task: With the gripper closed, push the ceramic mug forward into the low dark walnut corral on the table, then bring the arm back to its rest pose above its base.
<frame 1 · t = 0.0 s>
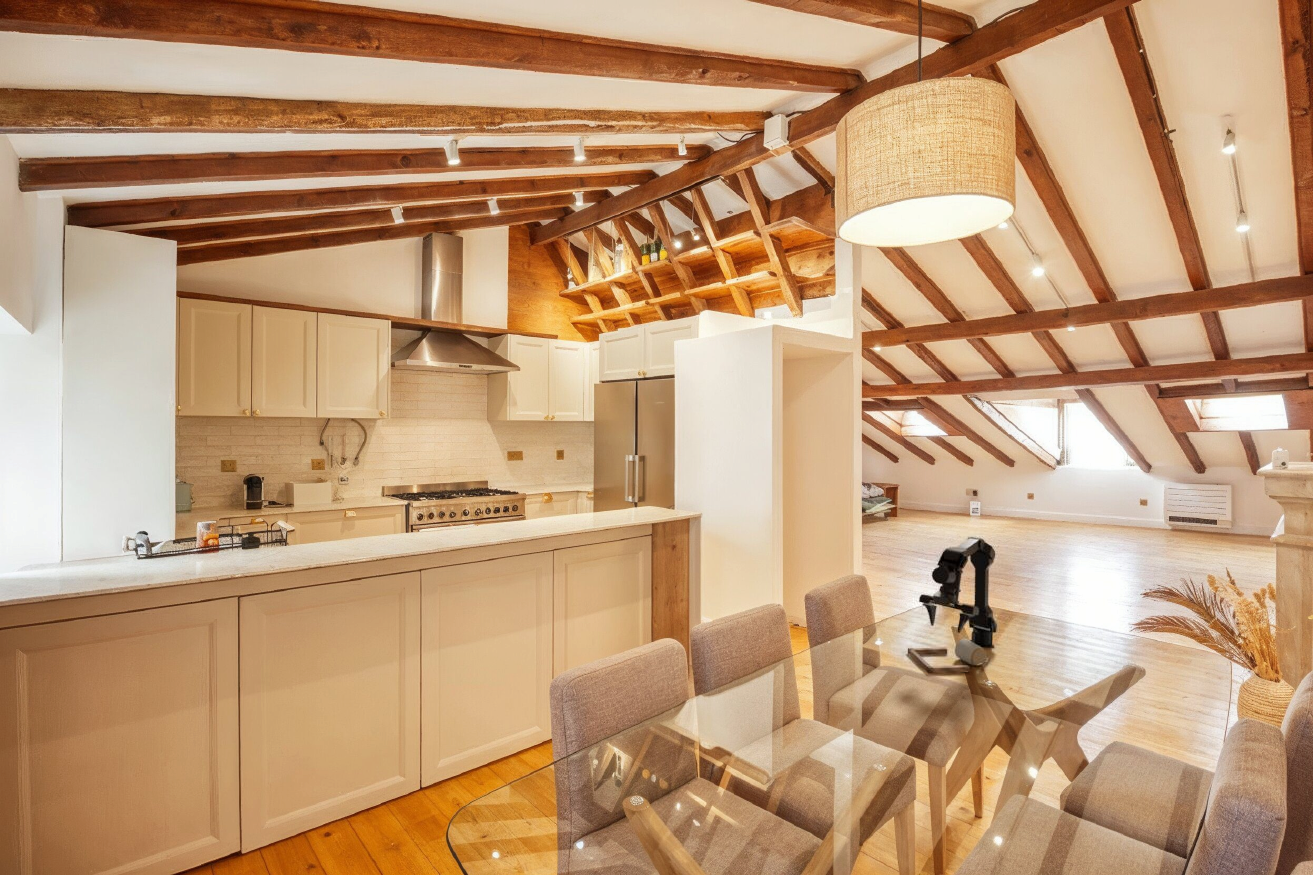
hand: (945, 629, 223), 15 cm above the table, tool pointing down, fingers open, 9 cm apart
ceramic mug: (972, 662, 232), on the table
walnut corral: (938, 662, 231), on the table
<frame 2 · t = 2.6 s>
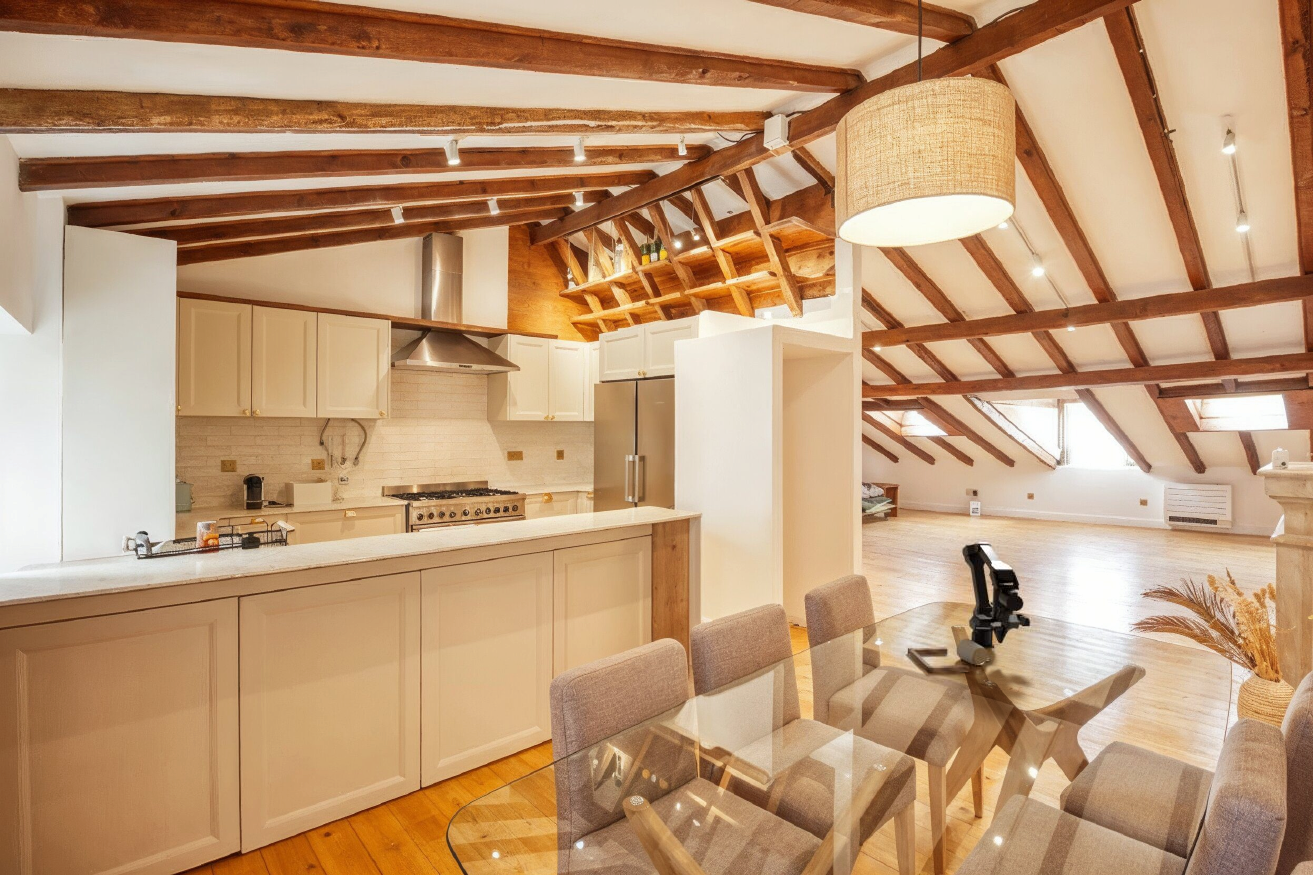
hand: (1000, 642, 232), 7 cm above the table, tool pointing down, fingers closed
nothing on the table moved.
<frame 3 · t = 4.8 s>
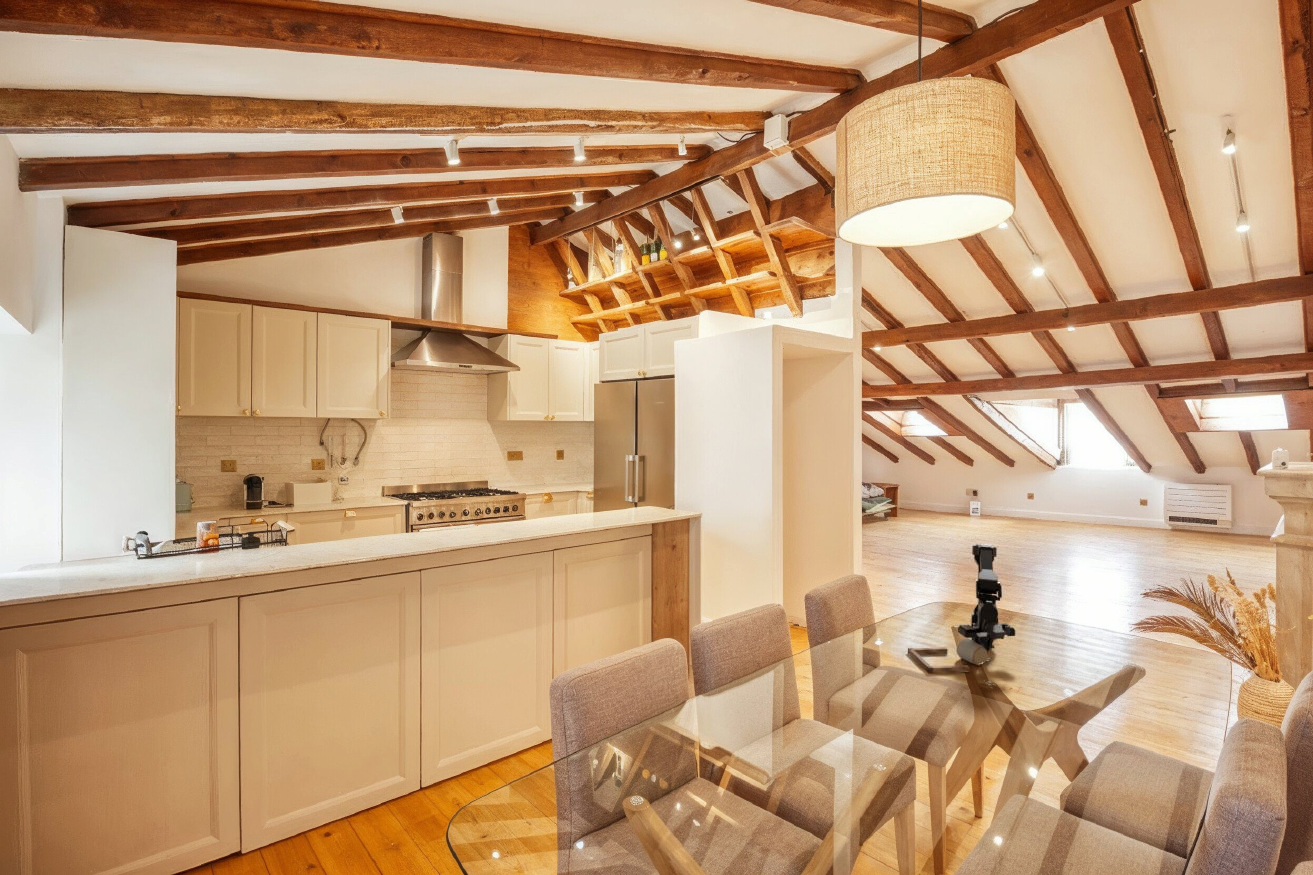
hand: (985, 653, 231), 3 cm above the table, tool pointing down, fingers closed
ceramic mug: (974, 661, 232), on the table, touching gripper
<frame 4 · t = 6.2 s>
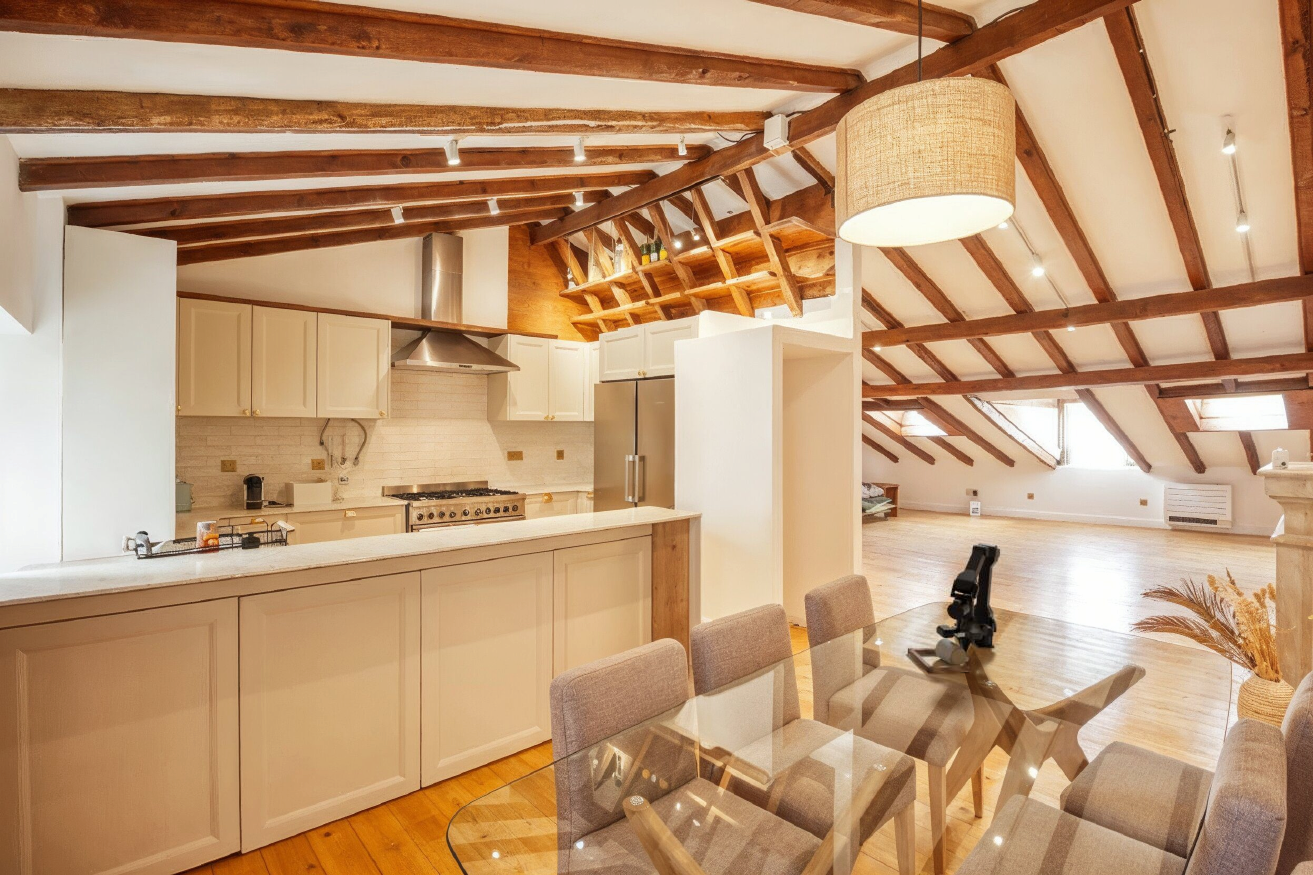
hand: (964, 653, 231), 3 cm above the table, tool pointing down, fingers closed
ceramic mug: (953, 662, 232), on the table, touching gripper
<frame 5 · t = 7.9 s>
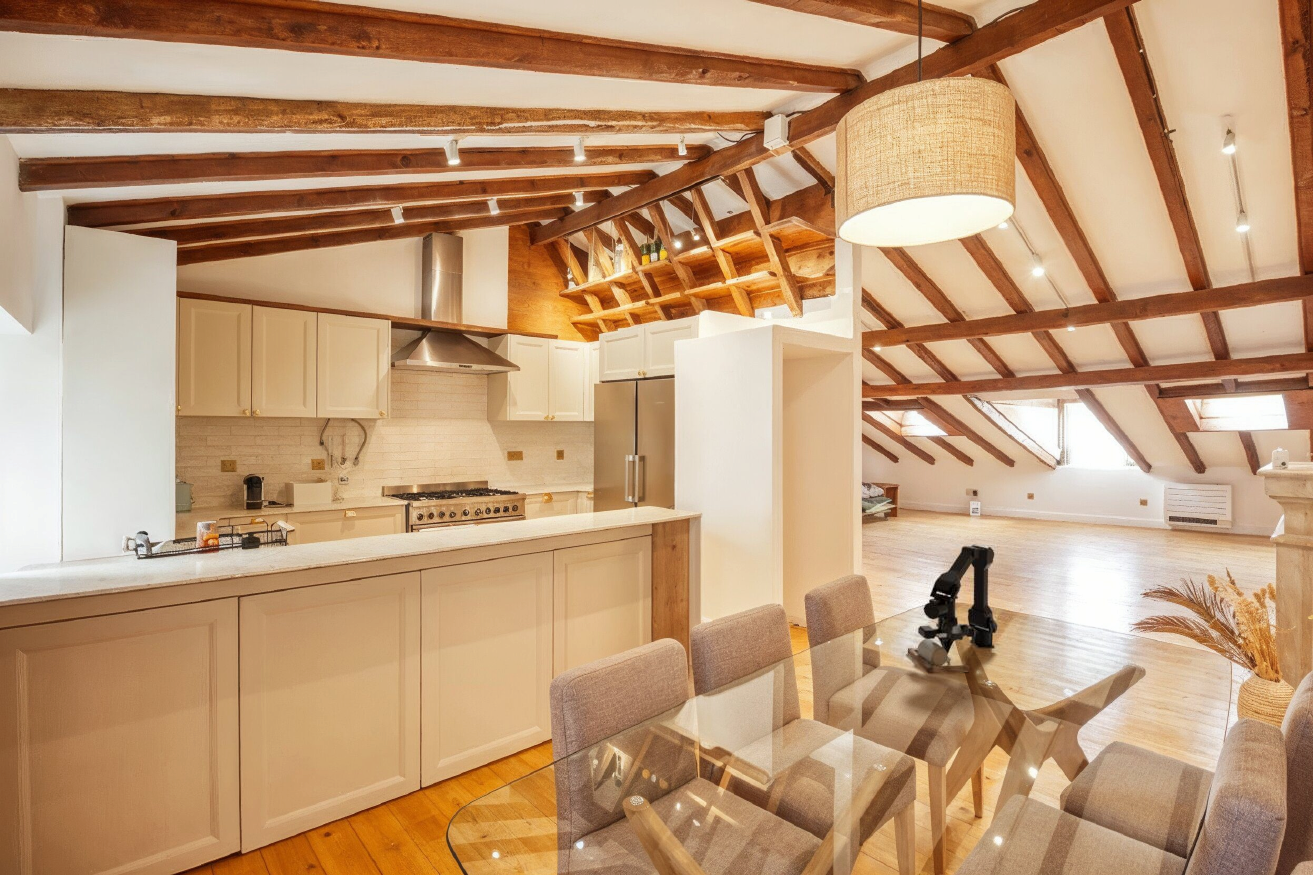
hand: (946, 653, 231), 3 cm above the table, tool pointing down, fingers closed
ceramic mug: (935, 662, 232), on the table, touching gripper, walnut corral
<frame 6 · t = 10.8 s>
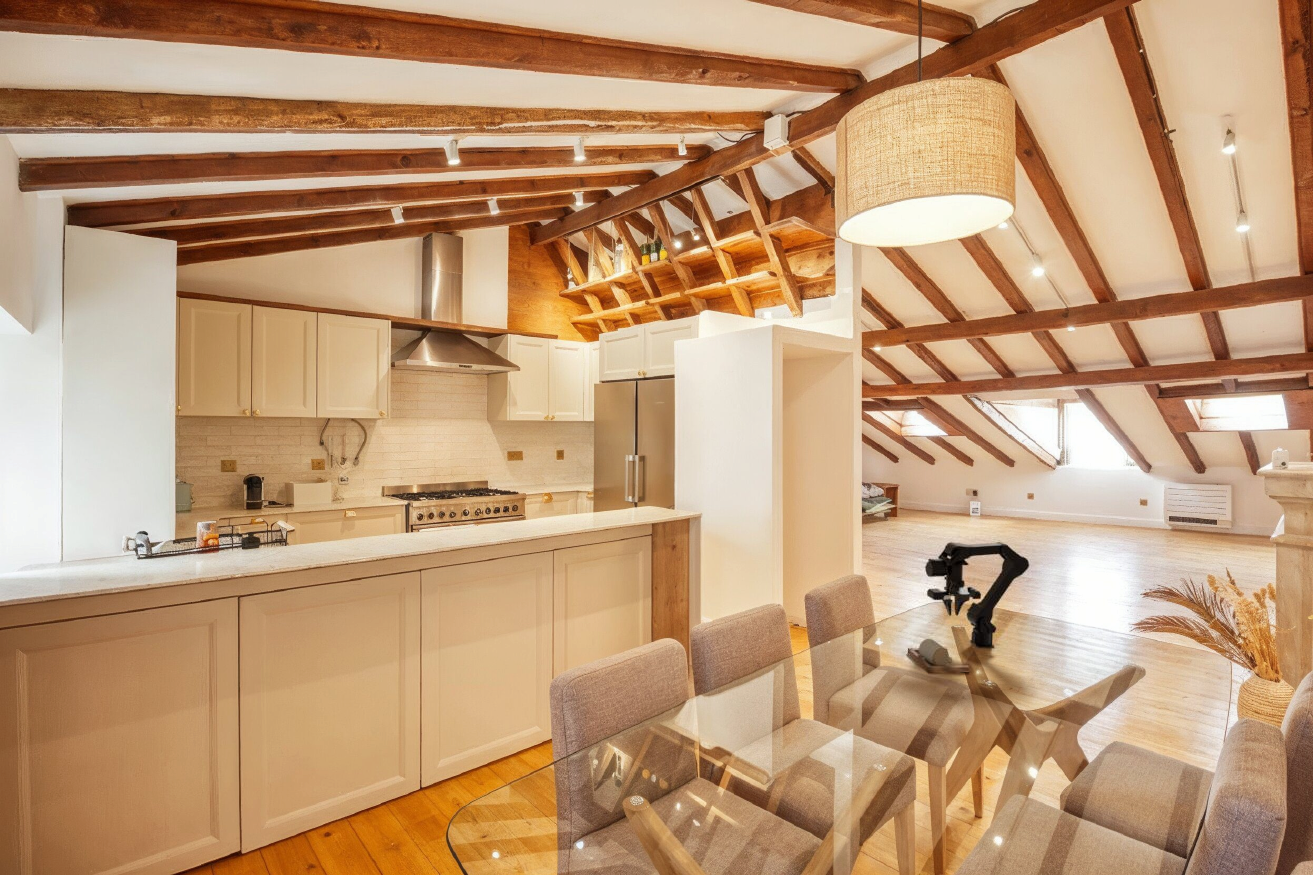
hand: (953, 615, 245), 12 cm above the table, tool pointing down, fingers closed
ceramic mug: (936, 662, 232), on the table
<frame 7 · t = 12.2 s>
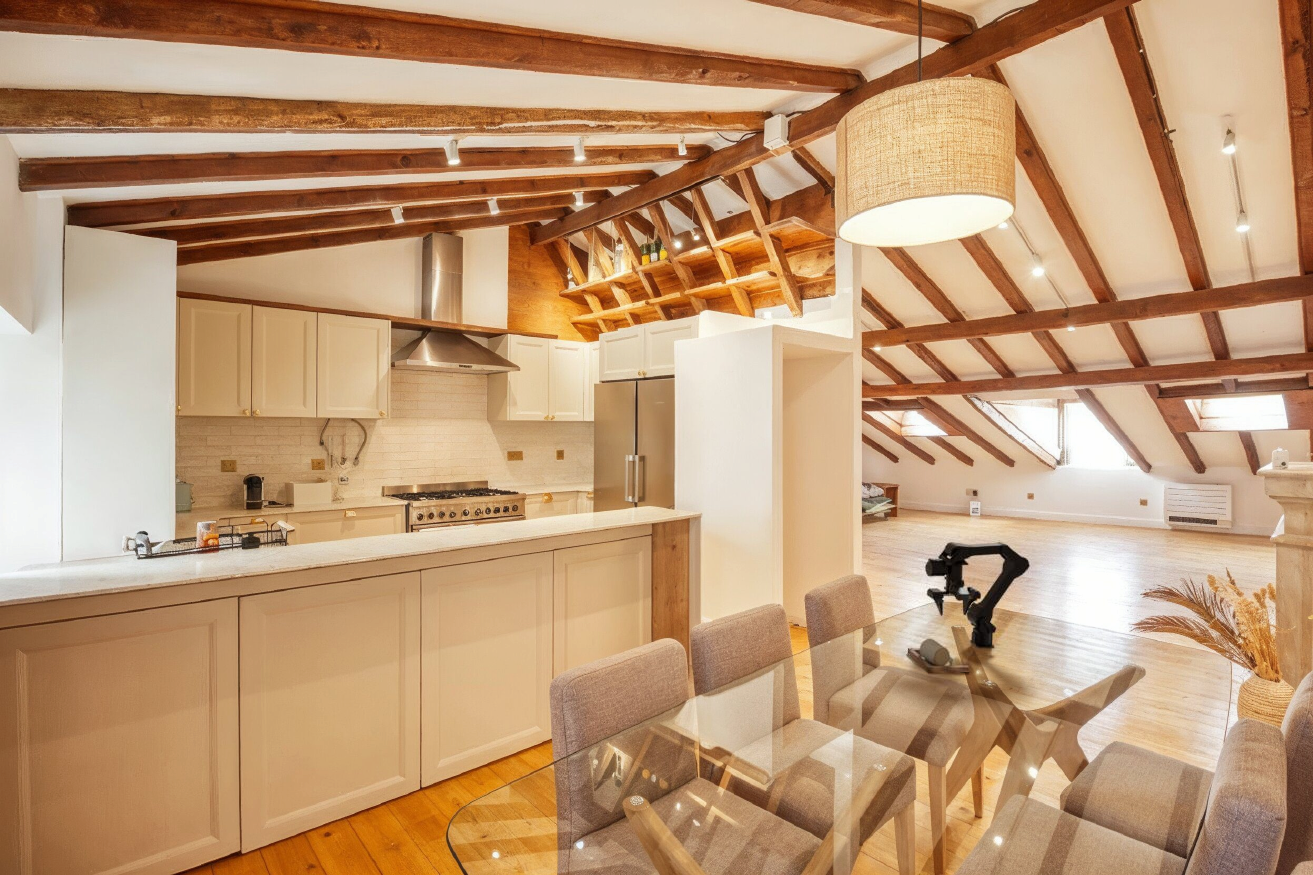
hand: (953, 615, 246), 12 cm above the table, tool pointing down, fingers open, 9 cm apart
nothing on the table moved.
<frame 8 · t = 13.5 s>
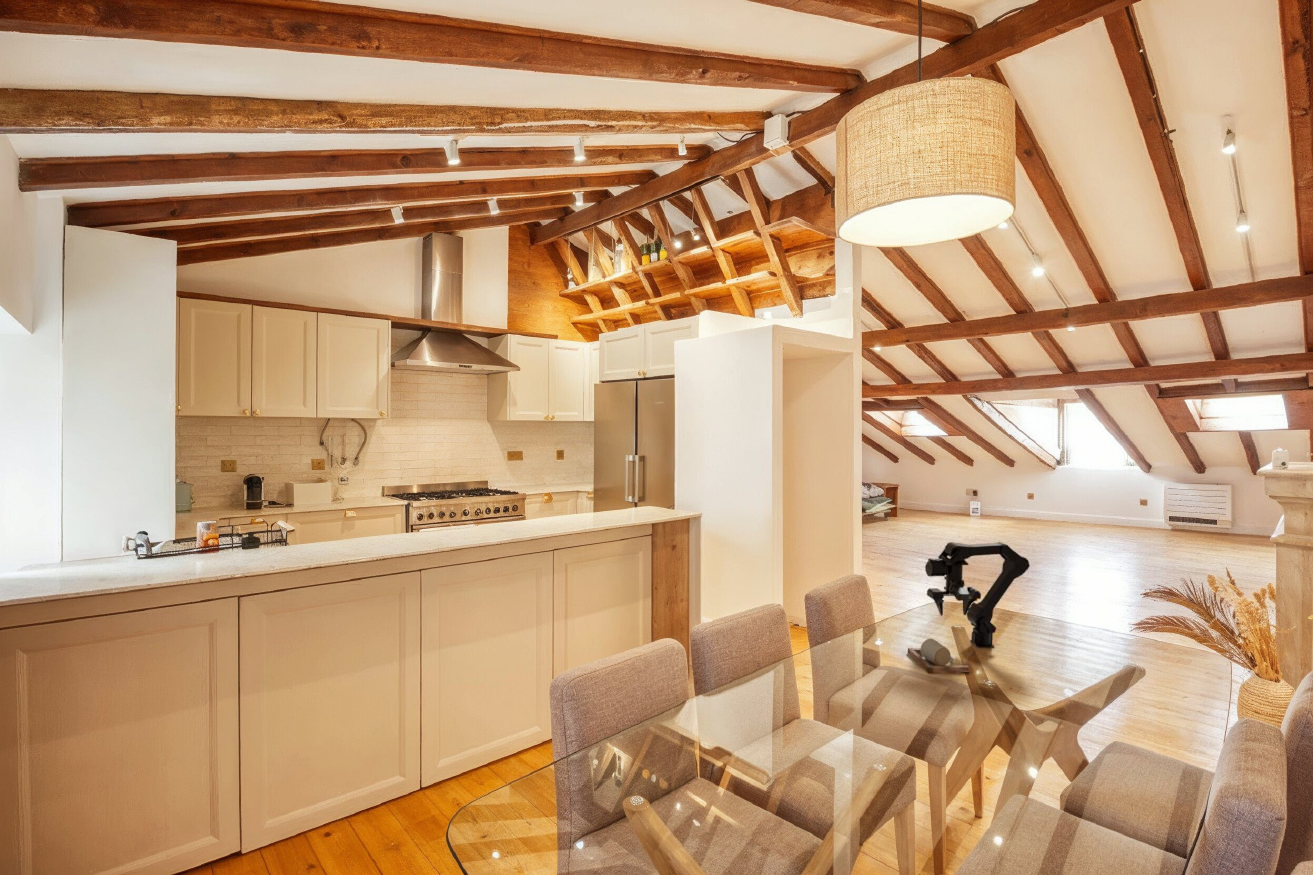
hand: (953, 615, 246), 12 cm above the table, tool pointing down, fingers open, 9 cm apart
nothing on the table moved.
at the end: ceramic mug 1.3 cm off-centre on the walnut corral, point 0.0 cm above the walnut corral's base; ceramic mug tilted 2°; ceramic mug moved 12.5 cm from its start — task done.
